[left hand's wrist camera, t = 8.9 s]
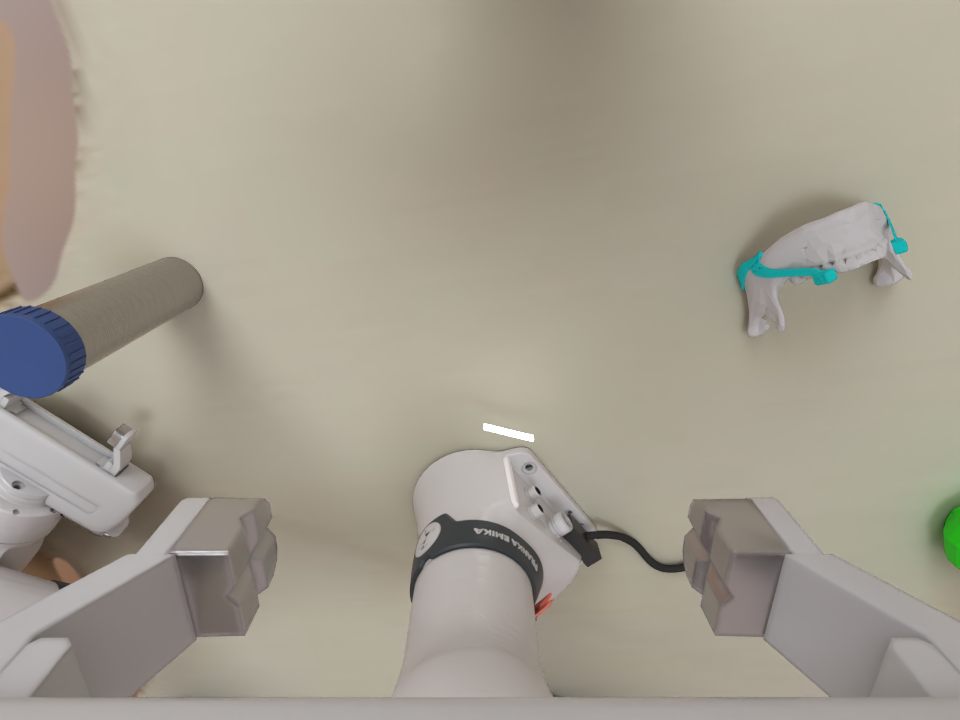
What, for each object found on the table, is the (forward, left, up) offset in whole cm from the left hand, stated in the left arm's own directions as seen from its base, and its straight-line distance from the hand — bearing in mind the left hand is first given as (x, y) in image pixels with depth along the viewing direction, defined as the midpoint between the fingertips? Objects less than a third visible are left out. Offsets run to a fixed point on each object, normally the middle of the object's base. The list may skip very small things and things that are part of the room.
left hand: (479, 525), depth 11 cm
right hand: (+12, -41, -40) cm, 58 cm away
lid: (+2, -31, -25) cm, 40 cm away
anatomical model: (+8, +31, -45) cm, 55 cm away
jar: (+2, -31, -45) cm, 54 cm away
